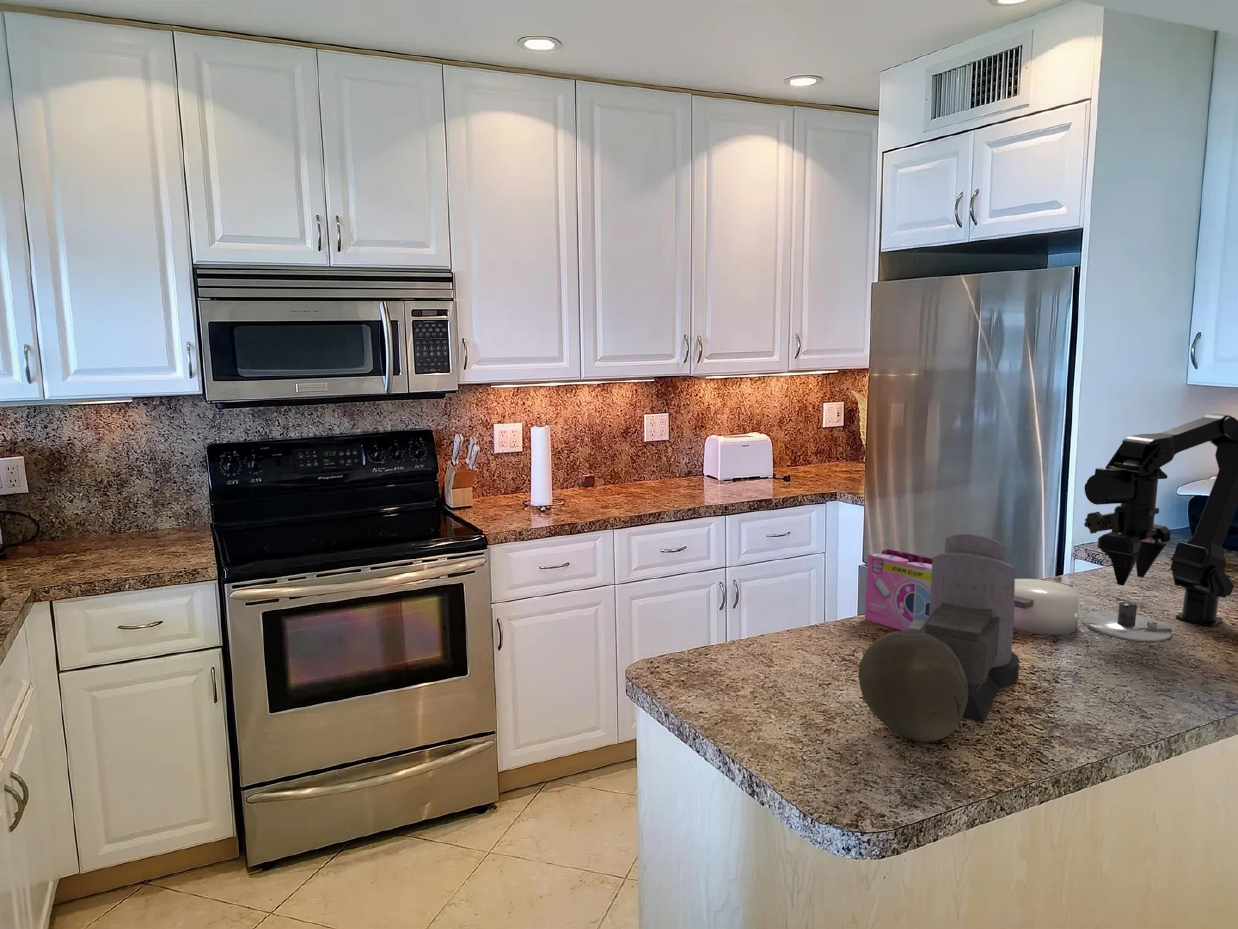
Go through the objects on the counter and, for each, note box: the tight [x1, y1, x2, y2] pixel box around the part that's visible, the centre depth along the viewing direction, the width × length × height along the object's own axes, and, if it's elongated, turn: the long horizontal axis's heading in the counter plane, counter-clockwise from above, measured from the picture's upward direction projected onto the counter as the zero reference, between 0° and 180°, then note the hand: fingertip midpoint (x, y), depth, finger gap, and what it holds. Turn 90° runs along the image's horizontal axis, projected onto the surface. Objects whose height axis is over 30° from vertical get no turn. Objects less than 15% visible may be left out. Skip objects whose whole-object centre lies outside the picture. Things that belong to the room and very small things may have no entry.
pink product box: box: [864, 548, 933, 631], centre depth 163 cm, size 24×8×14 cm, turn 41°
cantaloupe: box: [858, 630, 968, 743], centre depth 118 cm, size 14×14×15 cm
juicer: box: [907, 533, 1020, 724], centre depth 138 cm, size 30×16×24 cm, turn 148°
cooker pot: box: [1013, 578, 1081, 636], centre depth 168 cm, size 19×14×7 cm
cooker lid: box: [1081, 601, 1172, 642], centre depth 166 cm, size 15×15×5 cm
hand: (1130, 580), depth 165 cm, fingers open, 9 cm apart
